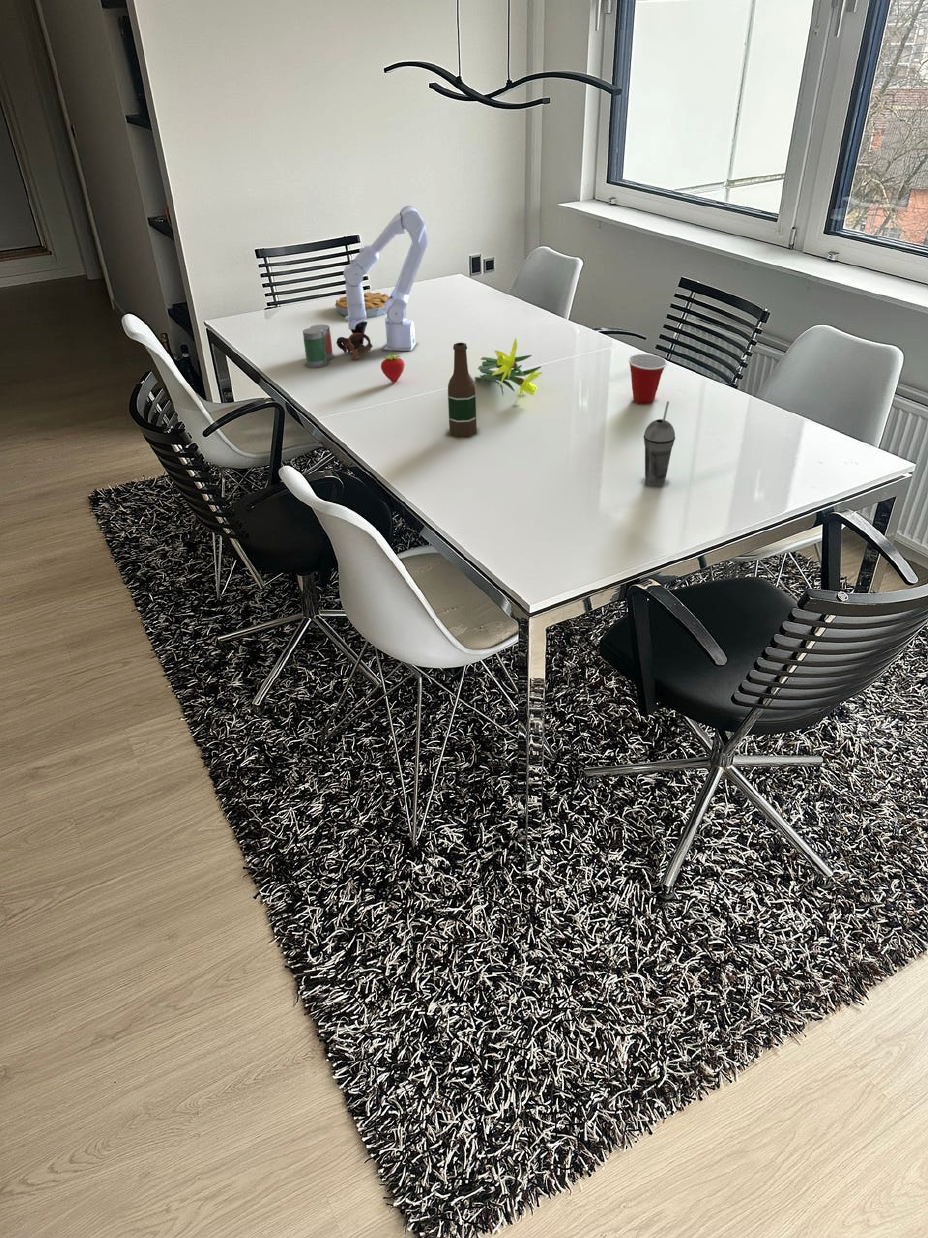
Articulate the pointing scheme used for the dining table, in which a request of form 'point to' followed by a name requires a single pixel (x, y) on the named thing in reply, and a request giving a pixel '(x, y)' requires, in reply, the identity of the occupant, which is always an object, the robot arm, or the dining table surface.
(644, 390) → the plastic cup
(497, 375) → the daffodil flowers
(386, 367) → the strawberry
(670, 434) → the beverage cup
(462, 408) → the beer bottle
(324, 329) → the tin cans
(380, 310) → the pie
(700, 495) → the dining table surface
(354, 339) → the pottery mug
